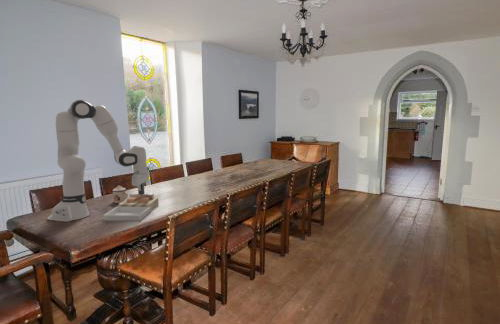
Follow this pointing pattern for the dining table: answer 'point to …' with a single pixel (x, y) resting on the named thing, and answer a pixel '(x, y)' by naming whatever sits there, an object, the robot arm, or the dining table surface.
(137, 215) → the box
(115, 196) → the teacup with lid
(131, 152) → the robot arm
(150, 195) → the scraper
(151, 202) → the beige rectangular tray
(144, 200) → the tile right
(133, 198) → the tile left
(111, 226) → the dining table surface
